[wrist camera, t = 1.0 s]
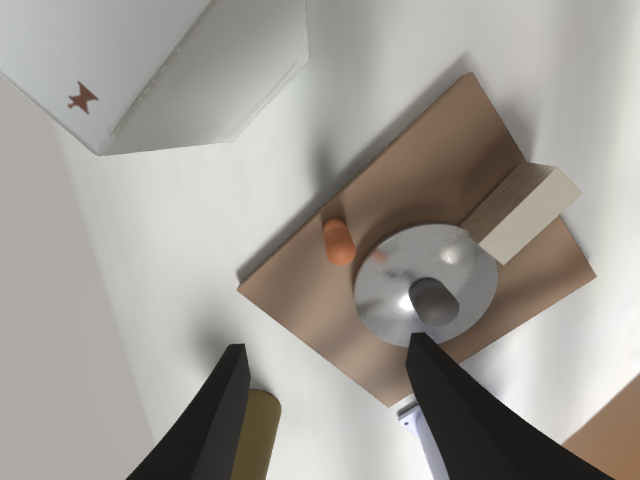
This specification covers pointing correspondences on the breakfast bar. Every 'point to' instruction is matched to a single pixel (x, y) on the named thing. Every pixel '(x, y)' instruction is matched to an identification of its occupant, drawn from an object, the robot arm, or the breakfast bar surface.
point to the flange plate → (457, 255)
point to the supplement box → (152, 66)
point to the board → (400, 210)
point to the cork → (256, 436)
